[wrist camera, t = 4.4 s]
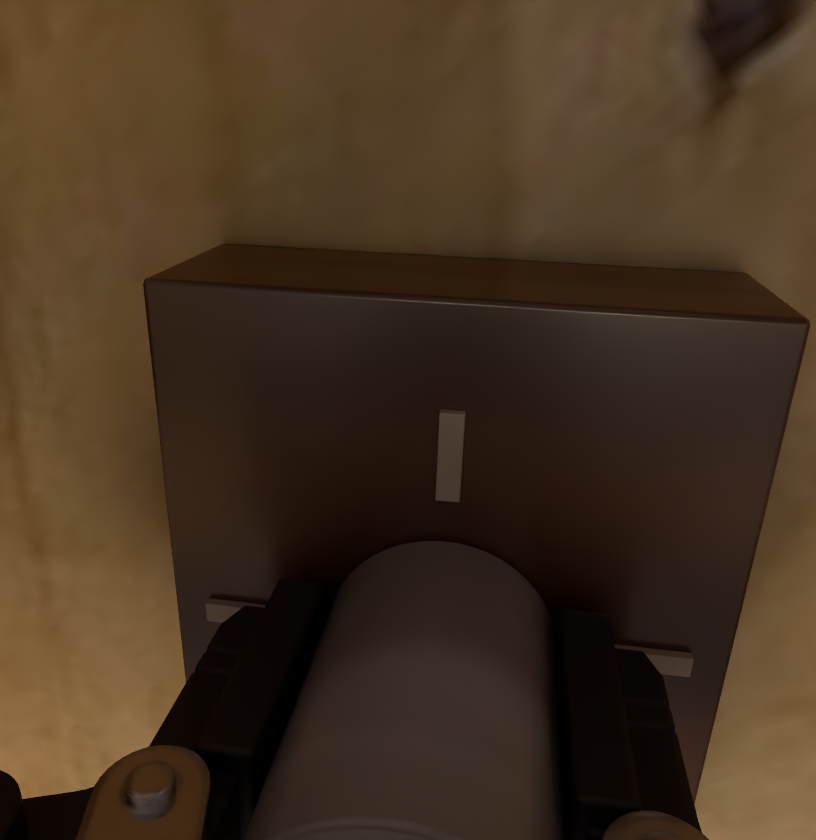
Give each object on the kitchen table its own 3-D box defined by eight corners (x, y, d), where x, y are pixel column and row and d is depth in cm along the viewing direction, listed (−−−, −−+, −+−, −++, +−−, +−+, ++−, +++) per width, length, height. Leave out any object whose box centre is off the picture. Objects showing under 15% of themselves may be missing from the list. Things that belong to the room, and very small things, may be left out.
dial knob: (329, 527, 12) (190, 826, 7) (565, 549, 11) (596, 885, 6) (333, 708, 13) (220, 1062, 8) (543, 734, 13) (555, 1124, 8)
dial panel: (219, 243, 13) (134, 280, 10) (749, 272, 12) (818, 322, 9) (251, 720, 18) (197, 841, 15) (647, 773, 17) (673, 914, 14)
